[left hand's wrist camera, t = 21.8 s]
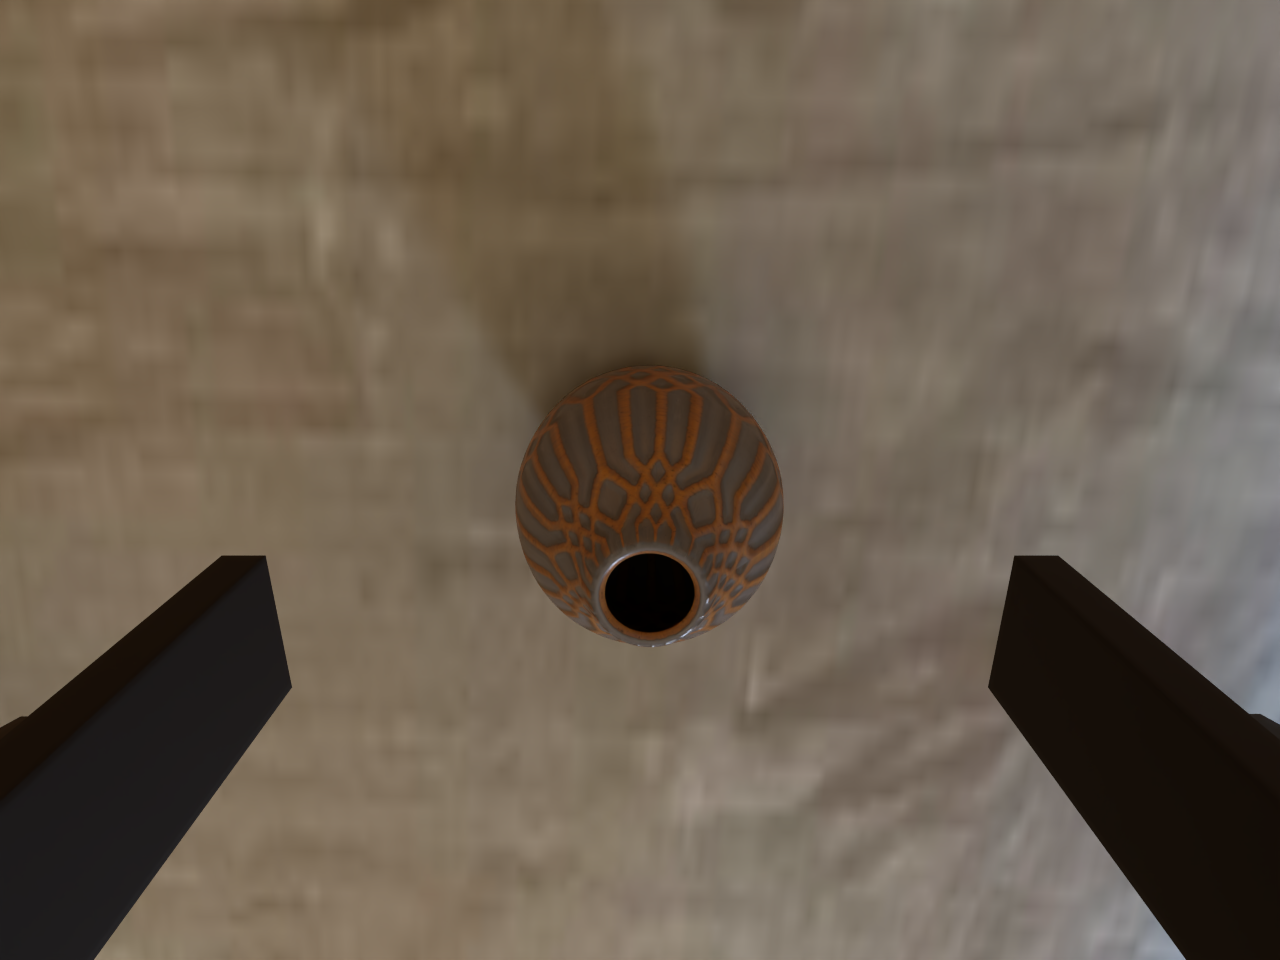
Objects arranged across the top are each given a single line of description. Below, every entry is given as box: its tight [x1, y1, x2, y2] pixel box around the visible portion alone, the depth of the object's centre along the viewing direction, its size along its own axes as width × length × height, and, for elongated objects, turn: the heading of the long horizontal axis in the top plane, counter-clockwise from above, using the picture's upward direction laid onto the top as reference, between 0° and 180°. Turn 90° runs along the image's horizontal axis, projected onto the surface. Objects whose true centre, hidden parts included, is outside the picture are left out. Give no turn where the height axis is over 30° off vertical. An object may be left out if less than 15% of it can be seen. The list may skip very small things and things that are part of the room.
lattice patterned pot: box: [515, 365, 784, 647], centre depth 18 cm, size 7×7×9 cm
